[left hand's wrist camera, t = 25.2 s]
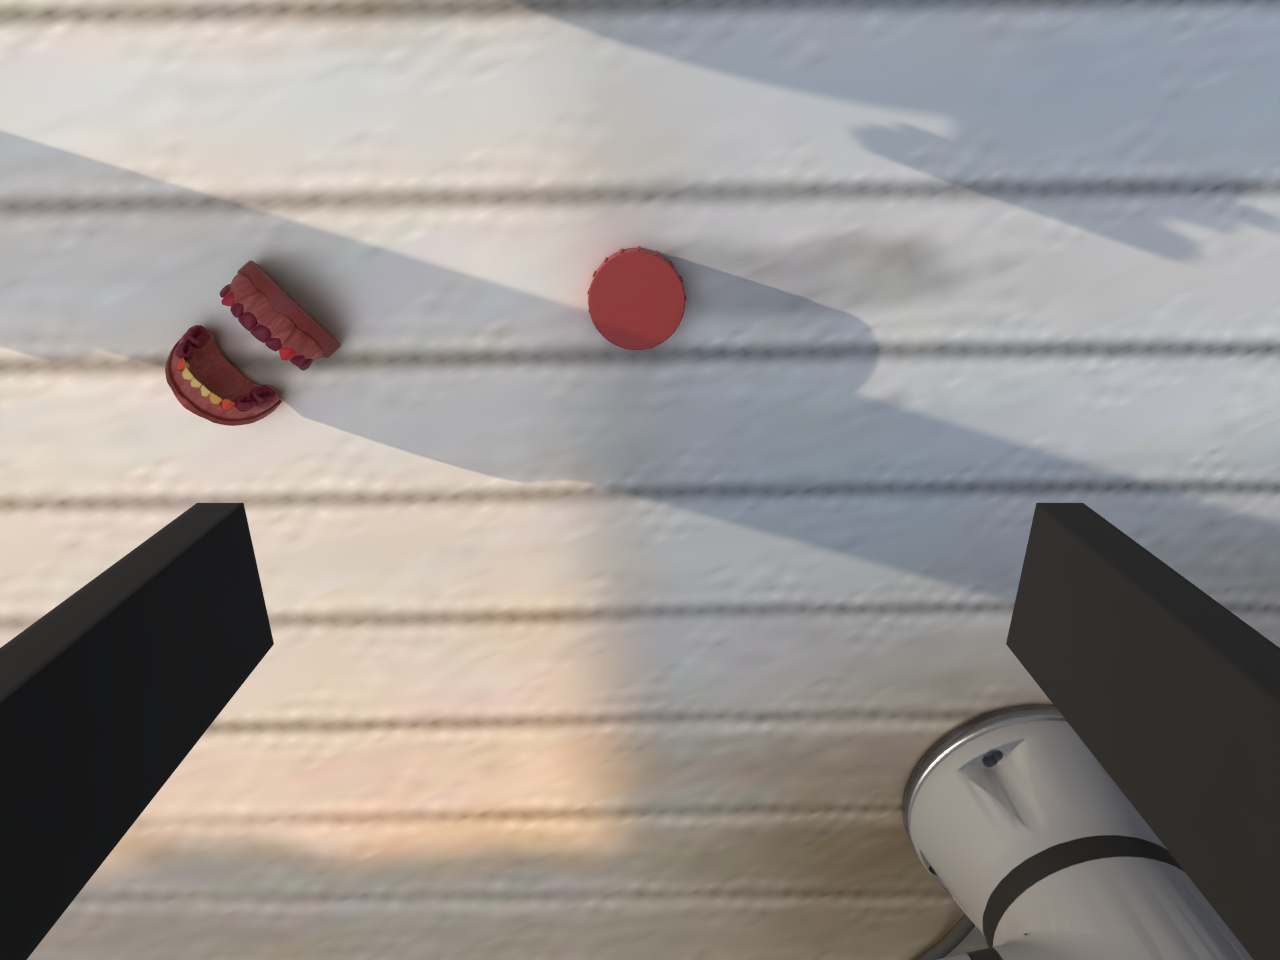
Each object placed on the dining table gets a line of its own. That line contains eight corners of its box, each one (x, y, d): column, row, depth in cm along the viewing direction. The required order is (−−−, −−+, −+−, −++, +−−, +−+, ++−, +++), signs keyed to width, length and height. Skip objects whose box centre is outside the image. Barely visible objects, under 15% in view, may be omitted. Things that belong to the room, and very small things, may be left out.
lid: (569, 288, 38) (565, 294, 36) (643, 225, 37) (643, 228, 35) (629, 360, 39) (629, 370, 38) (702, 302, 38) (706, 309, 36)
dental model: (123, 372, 35) (230, 254, 33) (172, 349, 39) (270, 243, 37) (224, 454, 37) (330, 348, 35) (260, 426, 41) (358, 328, 39)
